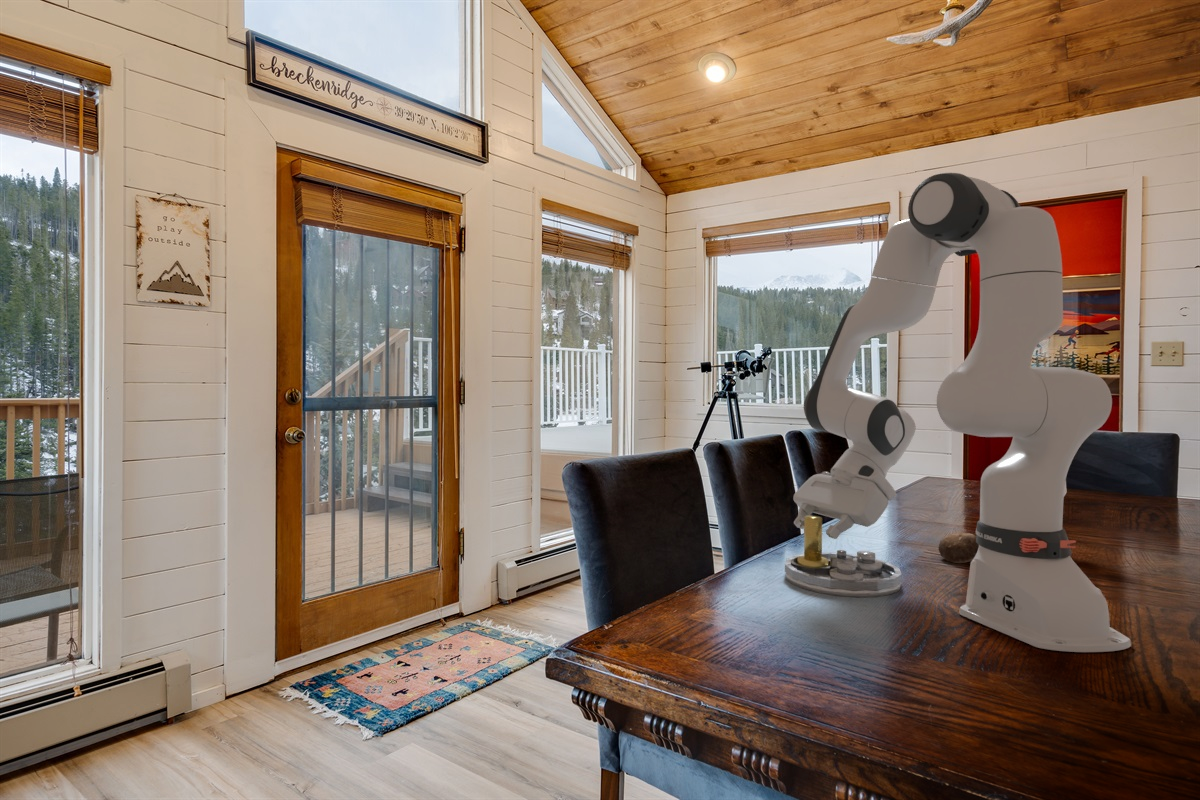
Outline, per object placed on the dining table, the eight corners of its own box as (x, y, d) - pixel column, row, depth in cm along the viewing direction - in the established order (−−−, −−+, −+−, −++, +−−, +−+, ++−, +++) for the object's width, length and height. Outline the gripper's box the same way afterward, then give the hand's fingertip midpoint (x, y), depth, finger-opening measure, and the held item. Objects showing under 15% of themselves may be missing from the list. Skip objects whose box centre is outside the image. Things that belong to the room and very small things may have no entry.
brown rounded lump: (977, 541, 143) (966, 519, 142) (994, 564, 136) (983, 542, 134) (940, 556, 146) (928, 535, 144) (955, 580, 138) (943, 558, 136)
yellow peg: (832, 572, 127) (833, 520, 126) (803, 572, 126) (803, 520, 126) (822, 564, 132) (822, 514, 132) (793, 564, 132) (793, 514, 132)
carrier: (922, 596, 117) (923, 564, 116) (808, 598, 115) (808, 566, 115) (869, 564, 137) (869, 538, 136) (771, 566, 135) (771, 539, 135)
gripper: (811, 460, 141) (771, 510, 138) (884, 472, 122) (840, 530, 119) (828, 481, 143) (789, 531, 140) (903, 495, 124) (860, 553, 121)
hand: (813, 531), depth 129 cm, fingers open, 8 cm apart
